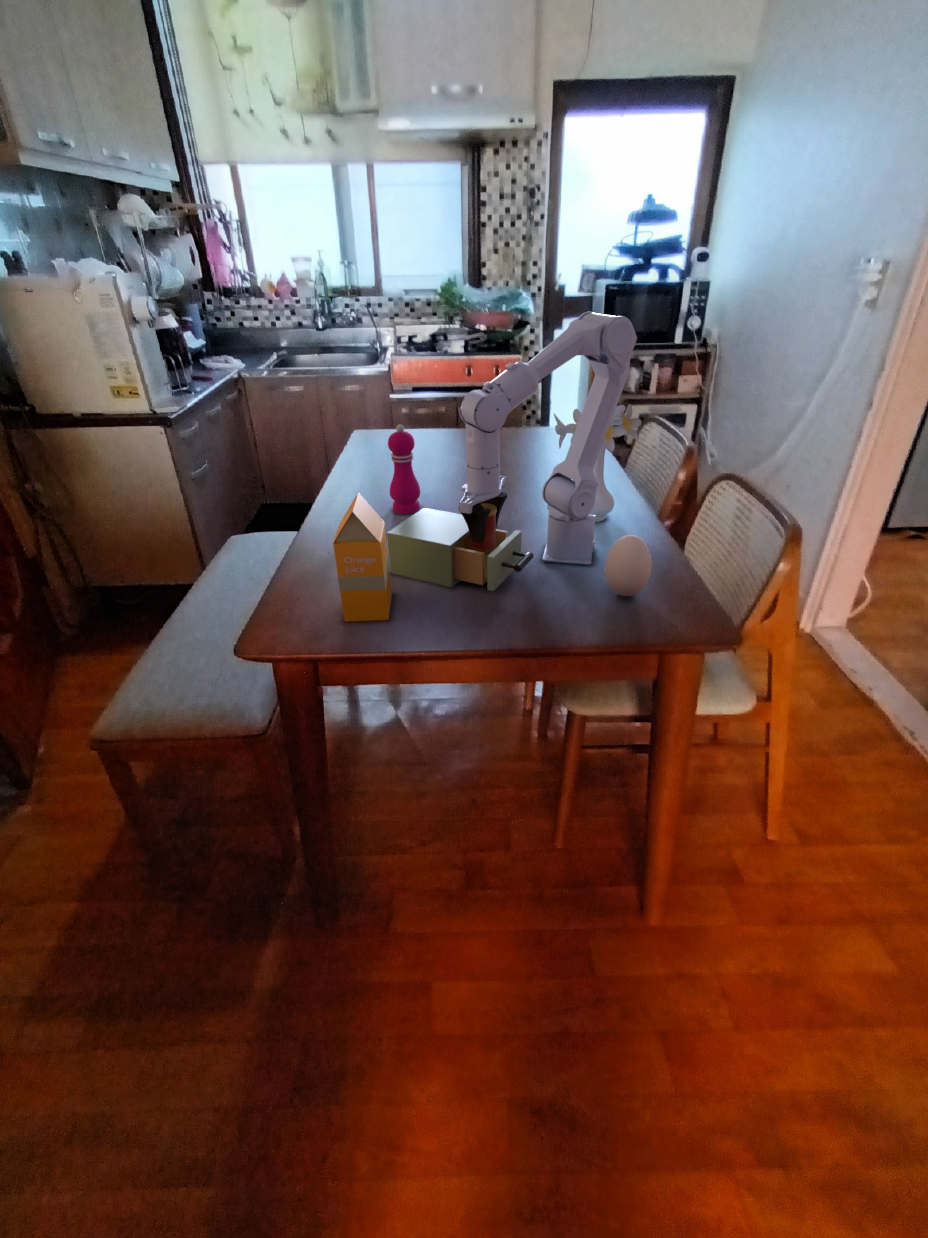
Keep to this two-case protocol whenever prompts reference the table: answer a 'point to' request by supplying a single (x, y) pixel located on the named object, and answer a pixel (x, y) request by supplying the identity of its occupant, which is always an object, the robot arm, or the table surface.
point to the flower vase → (603, 452)
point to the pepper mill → (403, 473)
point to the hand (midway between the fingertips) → (483, 536)
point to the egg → (628, 565)
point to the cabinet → (427, 546)
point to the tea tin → (488, 529)
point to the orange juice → (363, 563)
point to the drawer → (489, 560)
